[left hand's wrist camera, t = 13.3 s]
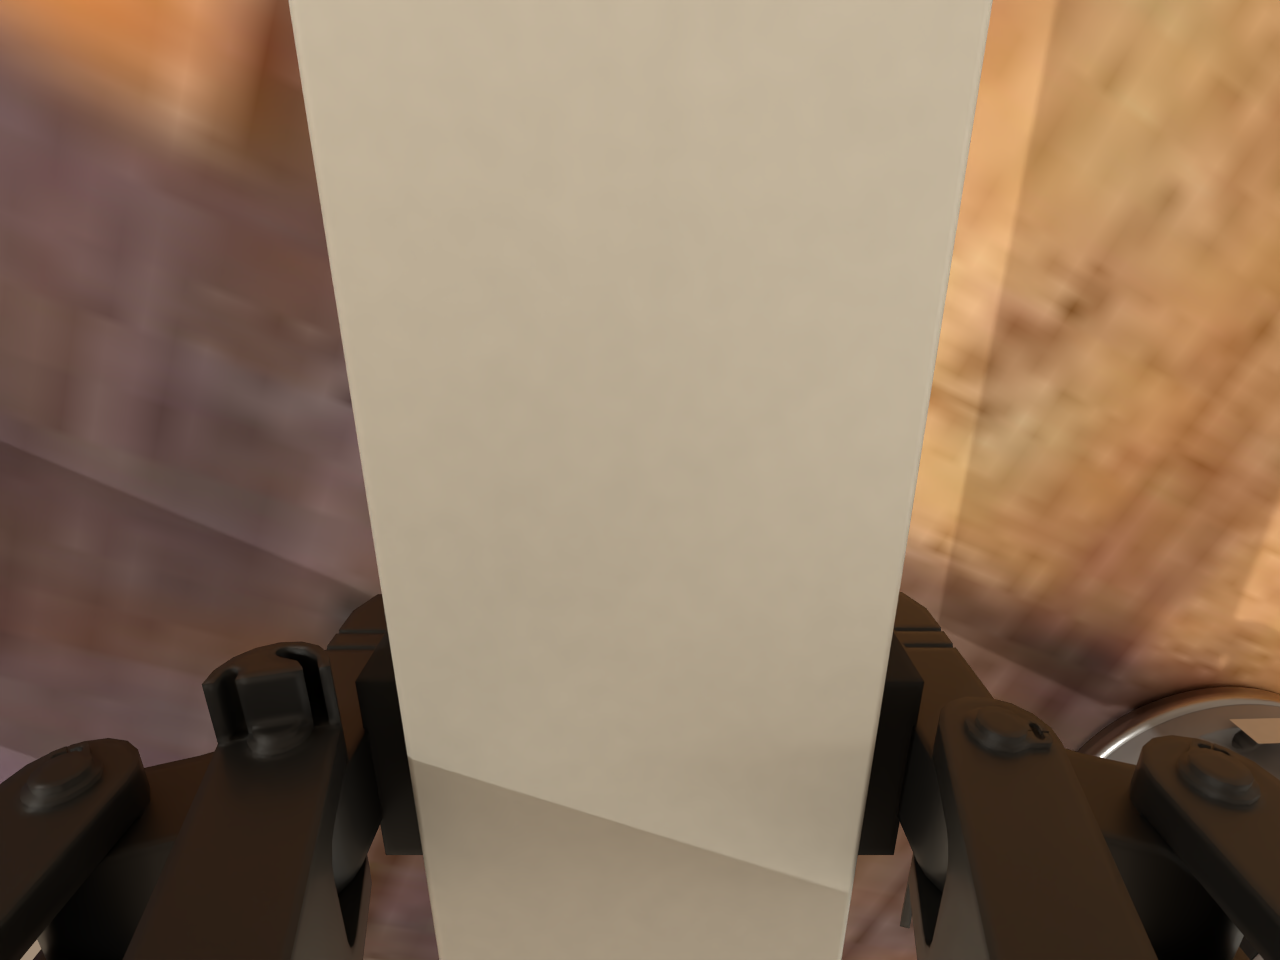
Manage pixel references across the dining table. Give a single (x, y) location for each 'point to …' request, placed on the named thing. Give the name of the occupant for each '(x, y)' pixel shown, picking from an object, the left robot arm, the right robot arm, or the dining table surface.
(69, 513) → the dining table surface
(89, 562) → the dining table surface
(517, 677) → the bar
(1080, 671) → the dining table surface
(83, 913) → the left robot arm
